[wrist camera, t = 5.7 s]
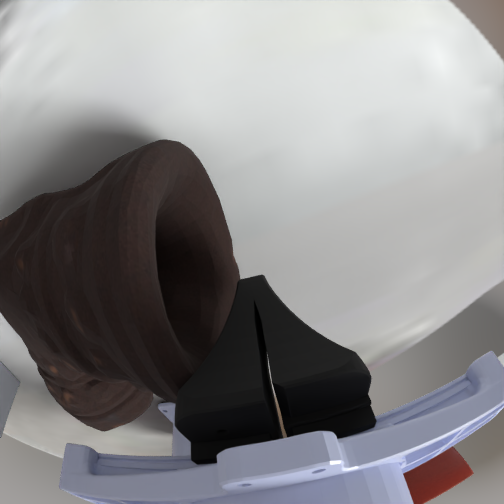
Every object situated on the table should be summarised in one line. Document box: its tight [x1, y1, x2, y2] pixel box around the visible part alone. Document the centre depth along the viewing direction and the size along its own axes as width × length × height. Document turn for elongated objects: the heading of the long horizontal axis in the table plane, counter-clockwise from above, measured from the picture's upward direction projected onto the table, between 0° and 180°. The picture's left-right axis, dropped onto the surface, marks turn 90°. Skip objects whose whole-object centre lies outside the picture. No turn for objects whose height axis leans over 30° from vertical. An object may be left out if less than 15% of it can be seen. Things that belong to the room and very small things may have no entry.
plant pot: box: [403, 446, 473, 504], centre depth 40 cm, size 19×19×17 cm
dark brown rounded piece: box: [0, 140, 240, 431], centre depth 13 cm, size 10×15×15 cm
